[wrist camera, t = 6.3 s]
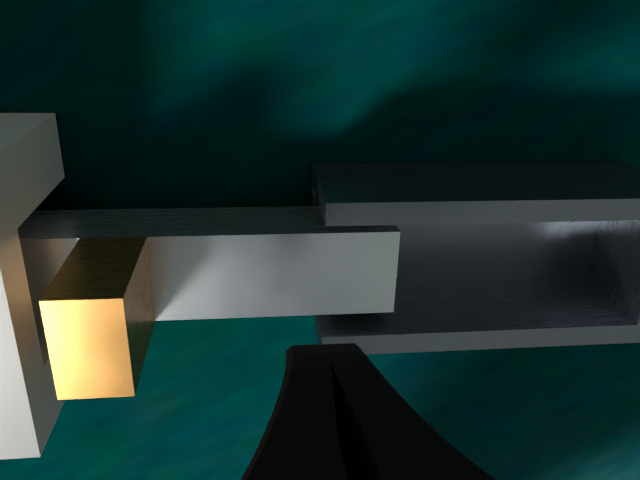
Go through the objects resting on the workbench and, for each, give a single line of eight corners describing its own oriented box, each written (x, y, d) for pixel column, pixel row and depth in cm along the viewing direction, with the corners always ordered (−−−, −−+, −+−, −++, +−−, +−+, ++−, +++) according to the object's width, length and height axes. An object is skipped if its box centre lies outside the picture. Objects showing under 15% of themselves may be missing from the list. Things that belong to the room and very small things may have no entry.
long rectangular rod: (378, 278, 18) (424, 381, 14) (-38, 290, 17) (-146, 409, 12) (384, 205, 17) (434, 289, 13) (-58, 211, 16) (-183, 308, 11)
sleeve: (590, 286, 20) (652, 342, 17) (309, 295, 19) (321, 356, 16) (619, 160, 18) (694, 197, 15) (312, 163, 17) (325, 203, 14)
